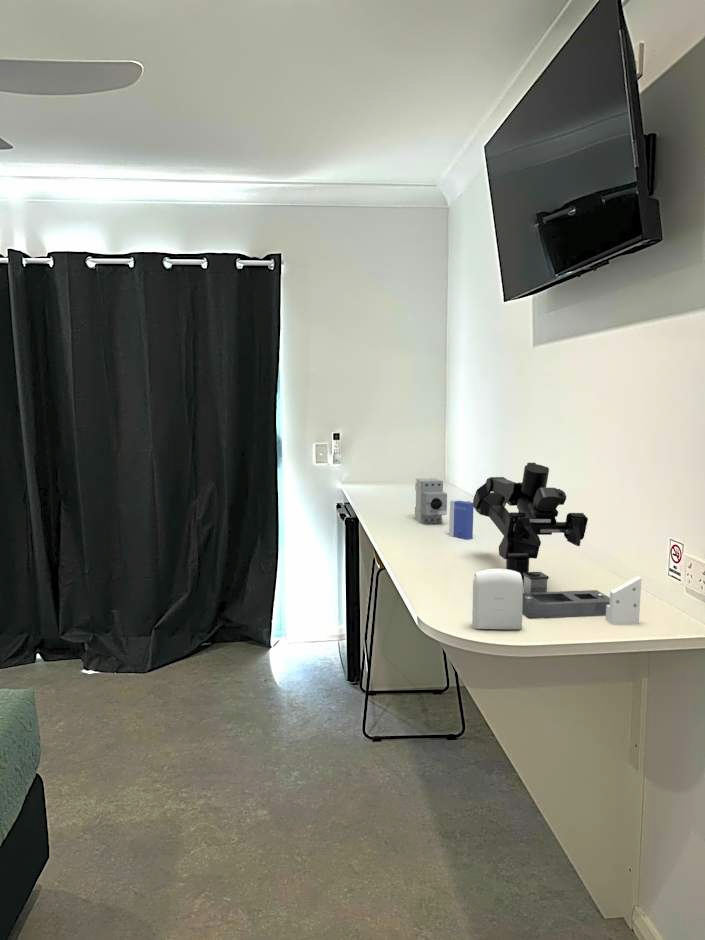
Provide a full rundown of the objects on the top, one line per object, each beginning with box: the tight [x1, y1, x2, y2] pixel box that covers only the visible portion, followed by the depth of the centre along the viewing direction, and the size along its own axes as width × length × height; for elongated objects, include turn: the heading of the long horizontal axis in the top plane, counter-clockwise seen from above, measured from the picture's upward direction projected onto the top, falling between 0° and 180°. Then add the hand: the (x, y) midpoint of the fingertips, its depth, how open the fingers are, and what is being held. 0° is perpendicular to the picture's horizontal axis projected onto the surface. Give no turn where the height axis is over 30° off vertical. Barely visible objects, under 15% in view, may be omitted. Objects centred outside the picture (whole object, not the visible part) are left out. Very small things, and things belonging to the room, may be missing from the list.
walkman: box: [448, 499, 474, 541], centre depth 245 cm, size 8×3×12 cm, turn 39°
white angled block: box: [605, 575, 642, 625], centre depth 161 cm, size 4×10×9 cm, turn 92°
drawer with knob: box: [523, 571, 550, 593], centre depth 177 cm, size 4×4×6 cm
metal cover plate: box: [522, 589, 610, 620], centre depth 169 cm, size 9×20×3 cm, turn 100°
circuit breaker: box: [414, 477, 448, 525], centre depth 269 cm, size 8×14×15 cm, turn 14°
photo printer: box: [471, 568, 524, 630], centre depth 156 cm, size 10×4×12 cm, turn 88°
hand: (559, 544), depth 167 cm, fingers open, 9 cm apart
